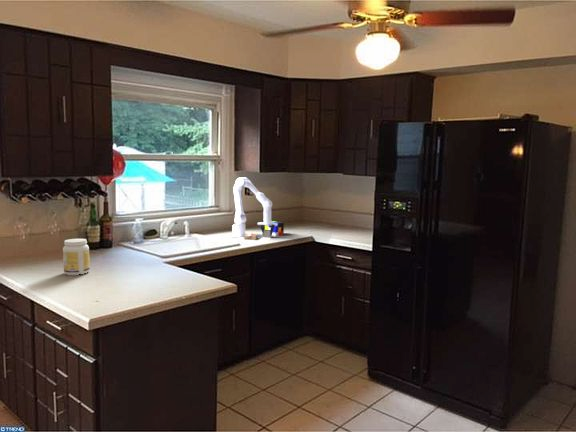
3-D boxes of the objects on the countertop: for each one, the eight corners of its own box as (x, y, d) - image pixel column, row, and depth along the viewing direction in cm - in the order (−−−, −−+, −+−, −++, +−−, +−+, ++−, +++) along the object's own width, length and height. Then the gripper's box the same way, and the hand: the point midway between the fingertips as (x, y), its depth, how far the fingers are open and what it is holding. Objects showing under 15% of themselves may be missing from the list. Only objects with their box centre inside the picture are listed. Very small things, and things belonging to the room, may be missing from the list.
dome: (246, 239, 336) (246, 233, 336) (248, 238, 341) (248, 232, 341) (253, 239, 336) (253, 233, 335) (255, 238, 341) (255, 232, 340)
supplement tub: (83, 268, 247) (81, 237, 245) (94, 272, 239) (93, 240, 237) (59, 273, 238) (57, 240, 236) (70, 277, 230) (68, 243, 228)
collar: (244, 240, 335) (244, 235, 335) (246, 238, 343) (246, 234, 343) (255, 240, 334) (255, 236, 334) (257, 238, 342) (257, 234, 341)
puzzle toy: (275, 237, 350) (275, 223, 349) (265, 235, 356) (265, 222, 355) (283, 235, 358) (283, 222, 357) (273, 233, 364) (273, 221, 363)
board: (257, 241, 329) (257, 240, 329) (263, 237, 349) (263, 236, 349) (268, 242, 328) (268, 241, 328) (273, 237, 348) (273, 236, 348)
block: (263, 237, 343) (263, 230, 342) (264, 236, 348) (264, 229, 347) (270, 237, 342) (270, 231, 341) (271, 236, 347) (271, 229, 346)
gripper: (256, 217, 340) (256, 235, 342) (276, 217, 338) (276, 236, 340) (258, 216, 347) (258, 234, 349) (278, 216, 345) (277, 234, 347)
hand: (267, 235), depth 345 cm, fingers closed on block, 5 cm apart
